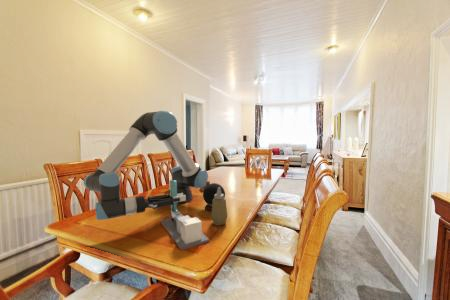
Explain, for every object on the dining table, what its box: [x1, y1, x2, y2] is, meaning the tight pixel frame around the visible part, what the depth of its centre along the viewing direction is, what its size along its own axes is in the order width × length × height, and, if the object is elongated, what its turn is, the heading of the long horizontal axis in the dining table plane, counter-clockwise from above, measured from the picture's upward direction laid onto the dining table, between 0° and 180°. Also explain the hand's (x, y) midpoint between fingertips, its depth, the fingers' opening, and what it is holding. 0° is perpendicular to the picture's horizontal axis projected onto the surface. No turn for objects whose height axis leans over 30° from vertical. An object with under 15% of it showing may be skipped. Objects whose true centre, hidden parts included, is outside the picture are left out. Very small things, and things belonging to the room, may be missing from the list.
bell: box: [199, 180, 211, 192], centre depth 166 cm, size 12×12×7 cm
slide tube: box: [169, 179, 183, 222], centre depth 99 cm, size 16×3×20 cm, turn 31°
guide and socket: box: [160, 214, 210, 251], centre depth 95 cm, size 30×12×8 cm, turn 31°
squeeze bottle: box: [211, 187, 228, 226], centre depth 102 cm, size 8×8×18 cm
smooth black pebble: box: [202, 182, 226, 213], centre depth 123 cm, size 13×13×15 cm
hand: (184, 196), depth 107 cm, fingers closed on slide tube, 3 cm apart
